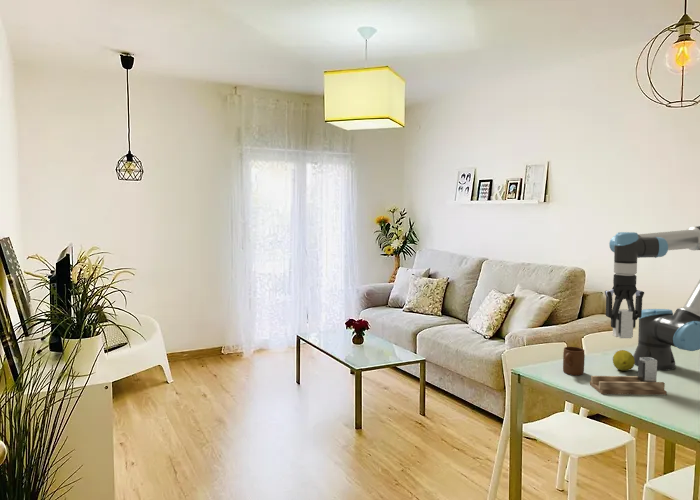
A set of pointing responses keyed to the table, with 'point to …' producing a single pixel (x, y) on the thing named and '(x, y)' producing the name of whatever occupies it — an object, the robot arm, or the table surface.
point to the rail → (626, 385)
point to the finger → (647, 369)
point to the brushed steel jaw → (625, 323)
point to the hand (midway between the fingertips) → (622, 336)
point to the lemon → (623, 360)
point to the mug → (573, 360)
